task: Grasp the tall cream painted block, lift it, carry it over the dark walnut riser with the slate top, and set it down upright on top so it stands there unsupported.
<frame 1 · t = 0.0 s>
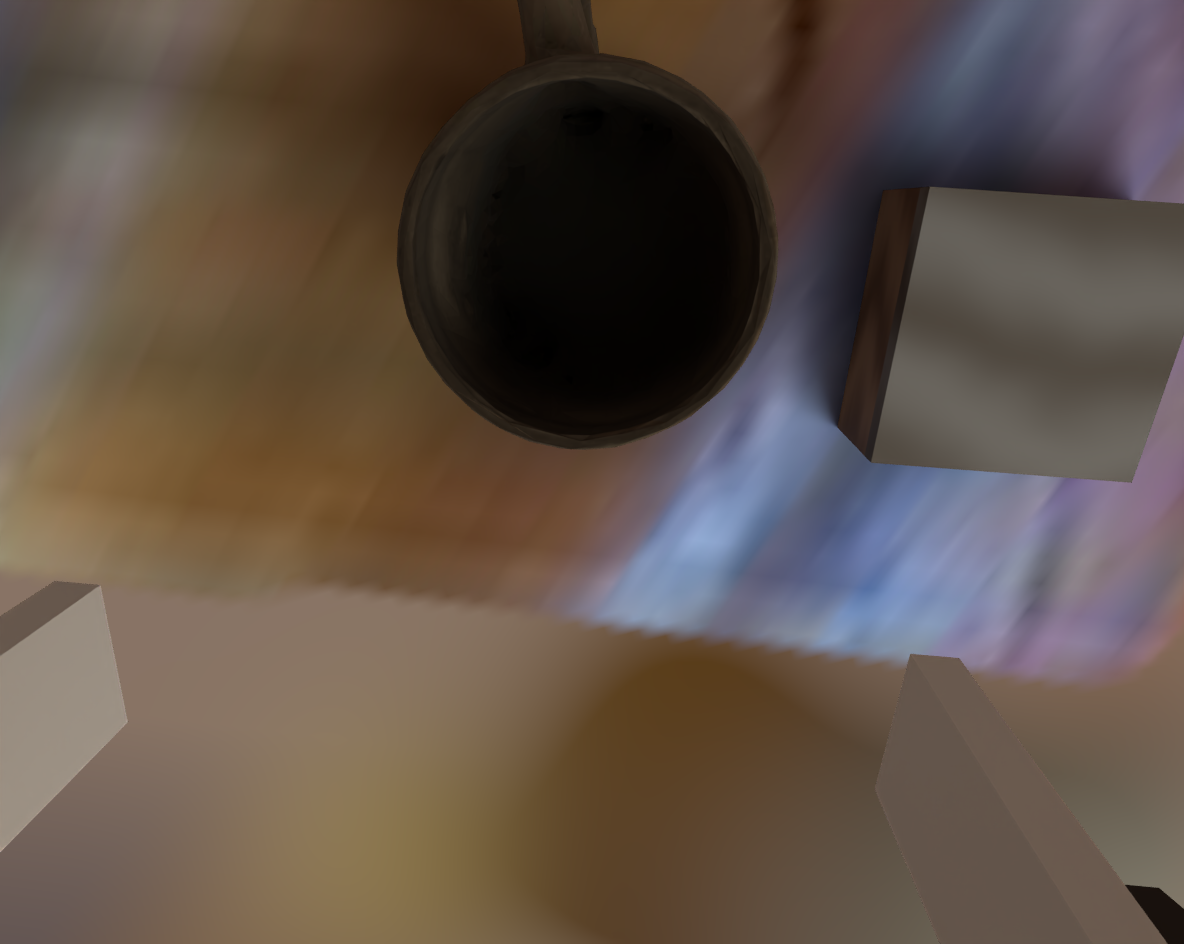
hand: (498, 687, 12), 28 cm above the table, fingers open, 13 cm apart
walnut riser: (974, 323, 37), on the table
beer stein: (593, 192, 35), on the table
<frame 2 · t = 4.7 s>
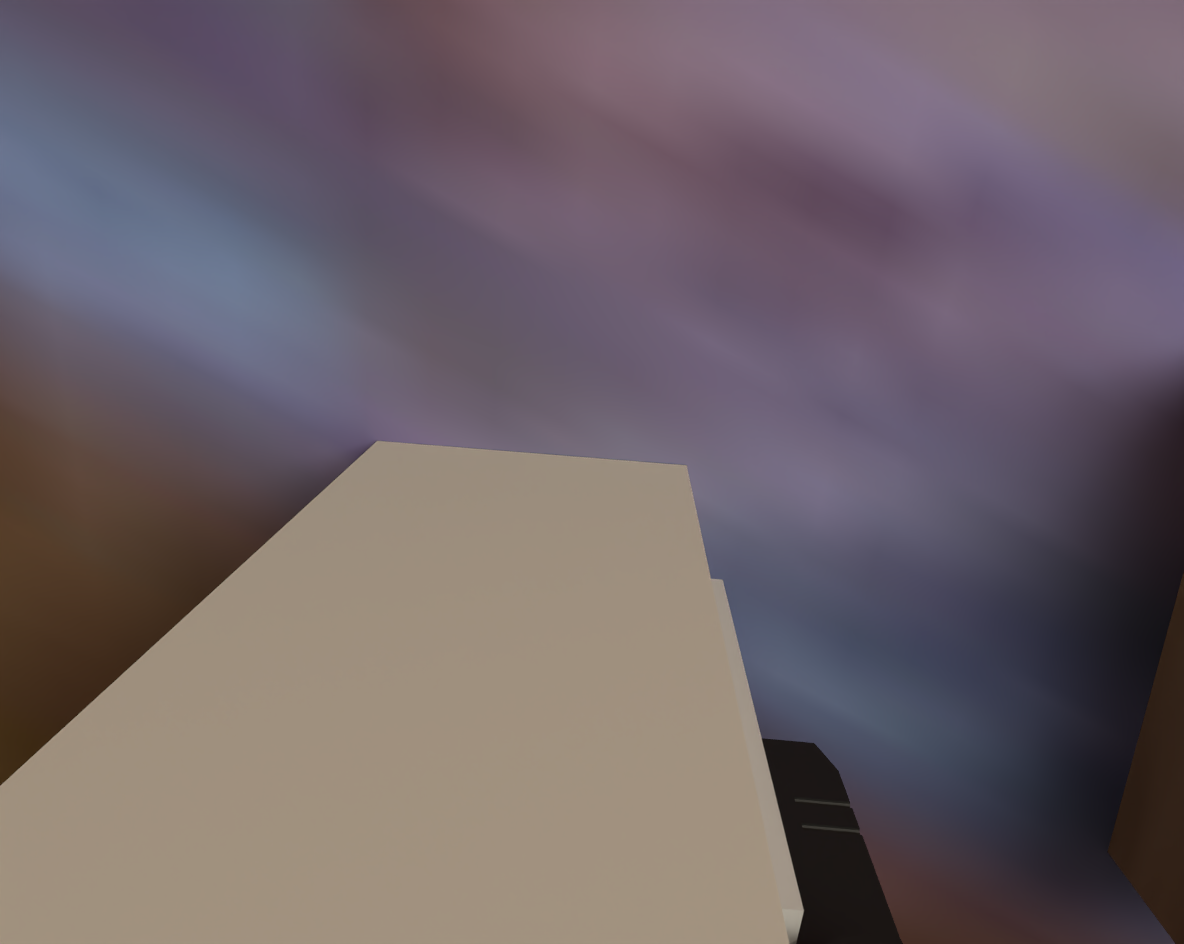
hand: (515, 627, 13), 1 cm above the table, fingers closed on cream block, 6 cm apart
cream block: (525, 589, 15), on the table, touching gripper
when the fingers open (9 cm above the table, at t = 11.9 s): cream block drops 2 cm, resting on walnut riser.
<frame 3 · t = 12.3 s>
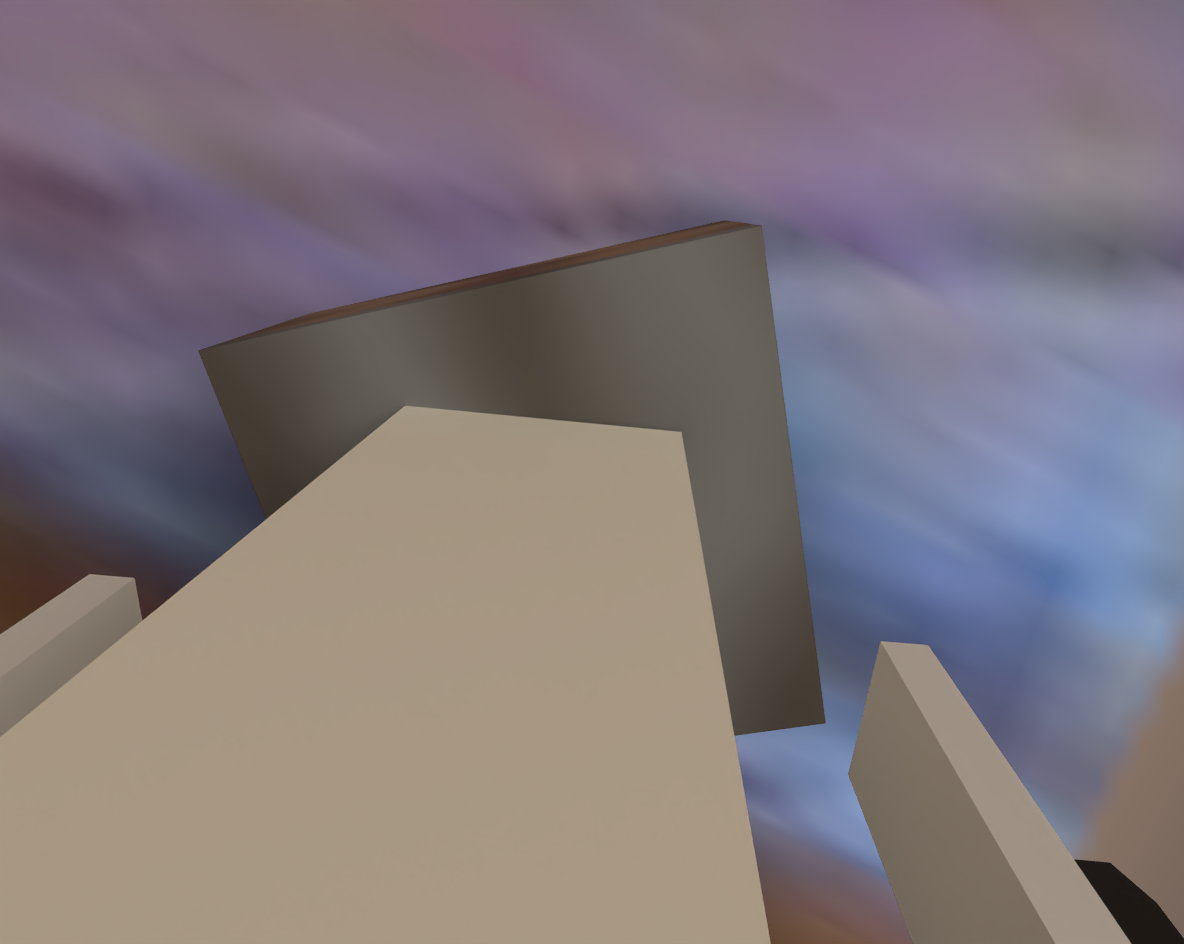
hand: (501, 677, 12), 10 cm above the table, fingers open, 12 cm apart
cream block: (535, 543, 16), point 6 cm above the table, touching walnut riser
walnut riser: (560, 463, 22), on the table, touching cream block
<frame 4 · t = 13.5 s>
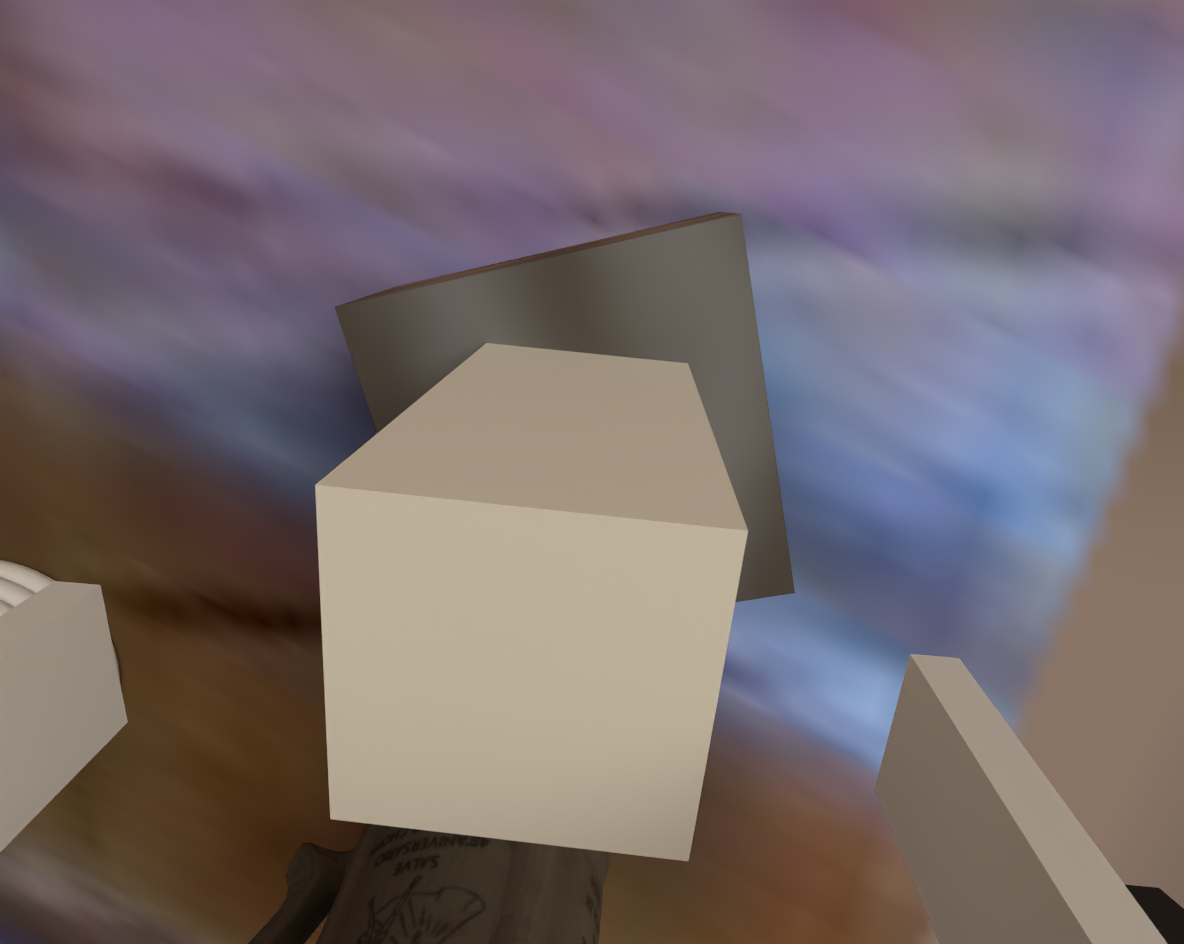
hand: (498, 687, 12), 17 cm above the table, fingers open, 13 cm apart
cream block: (578, 449, 22), point 6 cm above the table, touching walnut riser
walnut riser: (589, 406, 28), on the table, touching cream block
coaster: (26, 645, 34), on the table
beer stein: (461, 791, 35), on the table
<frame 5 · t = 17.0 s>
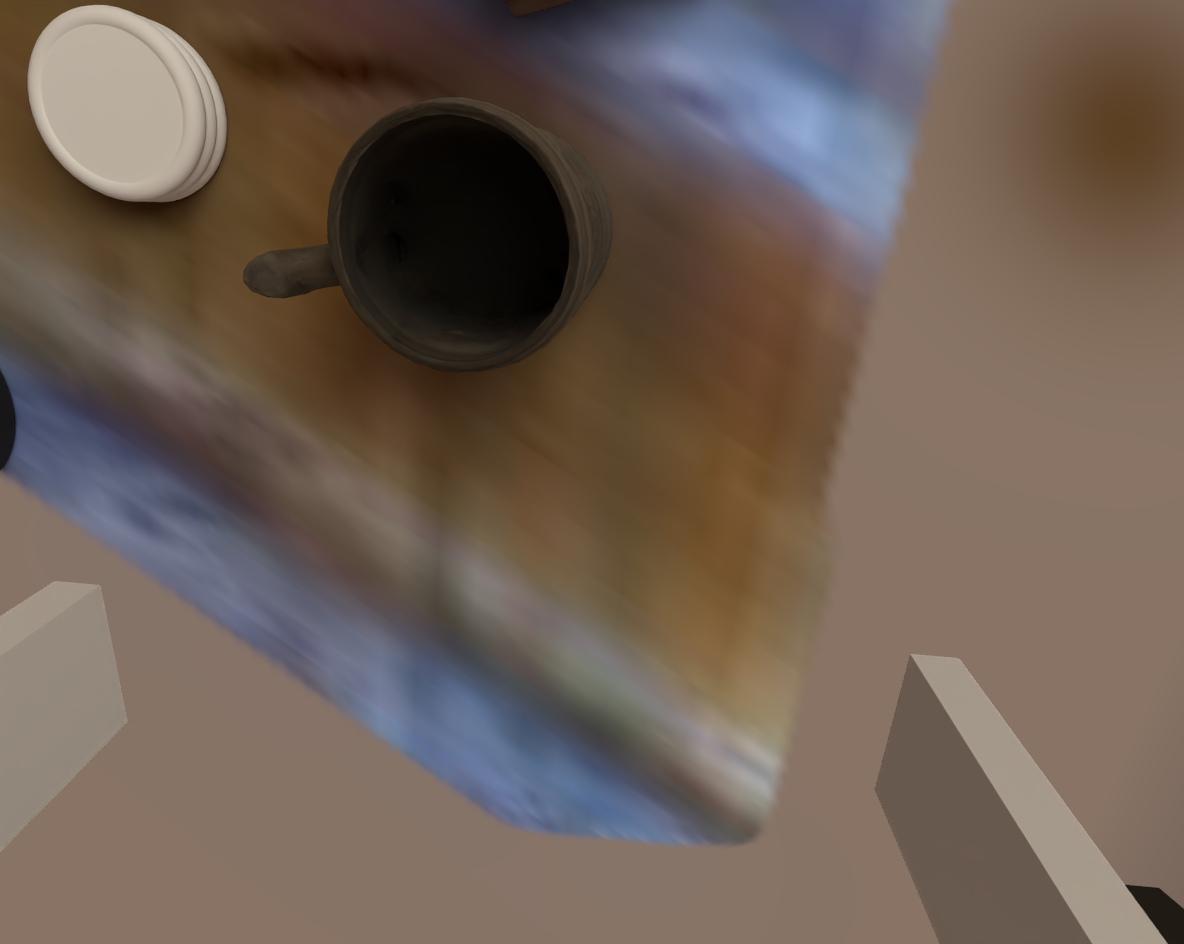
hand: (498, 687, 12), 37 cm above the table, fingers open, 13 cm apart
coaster: (152, 114, 43), on the table
beer stein: (491, 242, 45), on the table
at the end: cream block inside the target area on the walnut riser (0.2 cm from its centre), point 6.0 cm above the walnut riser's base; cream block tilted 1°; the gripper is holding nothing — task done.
